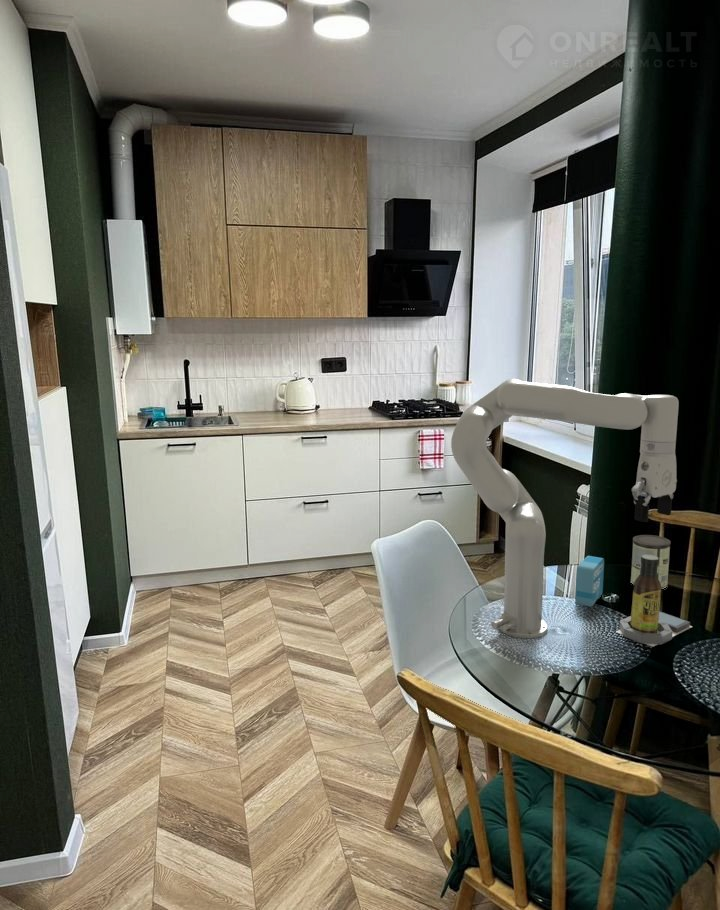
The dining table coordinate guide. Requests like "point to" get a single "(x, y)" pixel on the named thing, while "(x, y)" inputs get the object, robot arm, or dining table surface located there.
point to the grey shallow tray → (647, 638)
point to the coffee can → (651, 547)
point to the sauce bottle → (646, 597)
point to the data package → (589, 581)
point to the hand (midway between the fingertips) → (652, 517)
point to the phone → (674, 622)
